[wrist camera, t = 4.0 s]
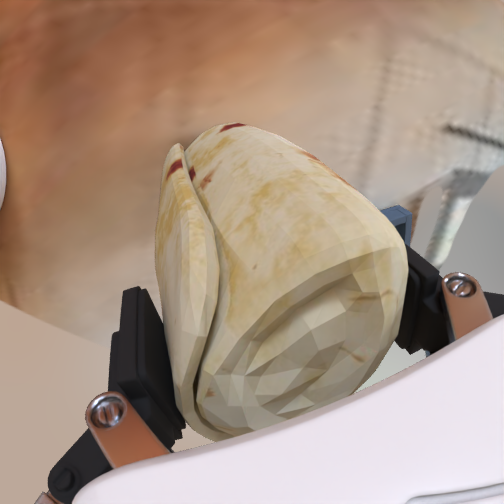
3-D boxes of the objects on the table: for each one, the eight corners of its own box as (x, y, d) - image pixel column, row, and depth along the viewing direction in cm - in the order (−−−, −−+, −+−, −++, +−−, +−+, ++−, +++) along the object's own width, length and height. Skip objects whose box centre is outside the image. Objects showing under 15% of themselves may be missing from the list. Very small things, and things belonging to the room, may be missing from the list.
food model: (218, 239, 27) (310, 472, 10) (141, 216, 24) (132, 476, 8) (267, 129, 24) (490, 261, 7) (185, 96, 21) (278, 142, 4)
